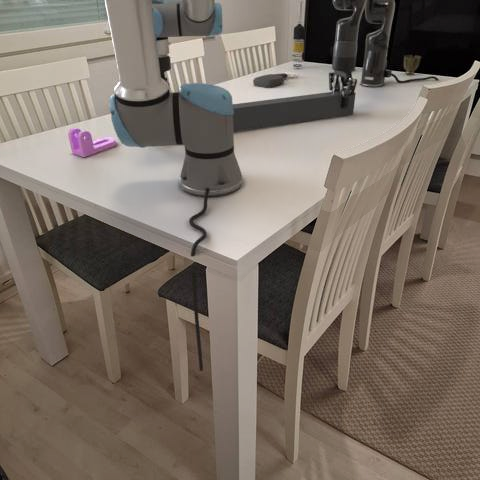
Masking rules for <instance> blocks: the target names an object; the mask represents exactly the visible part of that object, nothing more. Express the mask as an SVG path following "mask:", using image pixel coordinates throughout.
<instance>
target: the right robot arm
mask: <svg viewBox="0 0 480 480" xmlns="http://www.w3.org/2000/svg"><path fill="white" fill-rule="evenodd" d="M332 5H333V7H334V8H335V10H338V11H353V13H352V15H351V16H349V17H345V18H340V19H339V20H338V21H336V27H335V38H334V39H335V40H334V45H333V46H334V51H333V56H332V64H331V69H332V70H334V71H332V72H331V71H330V72H328V89H329V92H334V91H342V102H341V108H342V109H345V108H347V107H348V100H349V97H351V96H353V95H354V92H355V90H356V88H357V82H358V79H357V78H354V77H353V73H352V72H353V71H354V70H355V69H356V64H357V63H356V62H357V53H358V37H359V29H360V23H361V20H362V17H363V13H364V14H365V16H364V17H365V20H366V22H367V23H368V24H374V25H375V24H376V25H382V26H381V28H380V29H378V30H376V31H373V32H370V33H368V34H366V38H365V46H364V54H363V62H362V70H361V78H360V85H361V86H363V87H368V88H370V87H371V88H377V87H381V86H383V85H384V84H385V79H386V78H388V79H389V78H391V77H393V78H394V79H395V81H396V82H397V83H398V84H405V83H409V82H417V81H427V80H431V79H433V80H435V81H437V82H438V81H439V78H438V77H437V76H433V75H432V76H431V75H430V76H427V77H418V78H417V77H416V78H409V79H405V80H400V79H399V78H398V76H397V75H396V74H394V73H392V72H393V70H392V69H387V67H388V60H387V57H388V49H389V42H390V37H391V31H392V25H393V20H394V15H395V9H396V1H395V0H332ZM364 11H365V12H364ZM345 90H346V94H345ZM350 91H351V93H350Z"/></svg>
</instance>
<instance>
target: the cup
mask: <svg viewBox="0 0 480 480" xmlns="http://www.w3.org/2000/svg"><path fill="white" fill-rule="evenodd" d="M421 59H422V56H420V55H417V54H416V55H414V56H413V54H410V55H409V54H406V55H403V69H404V70H405V74H406V75H409V76H412V75H414V73H415V71H416V70H418V68H419V65H420V62H421Z"/></svg>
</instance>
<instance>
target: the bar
mask: <svg viewBox="0 0 480 480" xmlns="http://www.w3.org/2000/svg"><path fill="white" fill-rule="evenodd" d="M350 93H351V90H350ZM345 94H346V90H345ZM355 100H356V92H355V91H354V95H353V96H351V97H349V100H348V107H347V108H345V109H342V108H341V102H342V91H341V90H340V91H334V92H332V91H327V92H320V93H311V94H303V95H295V96H288V97H280V98H279V97H278V98H273V99H264V100H263V99H262V100H255V101H248V102H247V101H246V102H241V103H233V110H234V114H233V133H234V132H240V131H247V130H253V129H260V128H267V127H272V126H280V125H288V124H294V123H299V122H300V123H302V122H306V121H315V120H320V119H328V118H334V117H335V118H336V117H341V116H342V117H343V116H348V115H354V112H355V111H354V110H355V102H356V101H355Z"/></svg>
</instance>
